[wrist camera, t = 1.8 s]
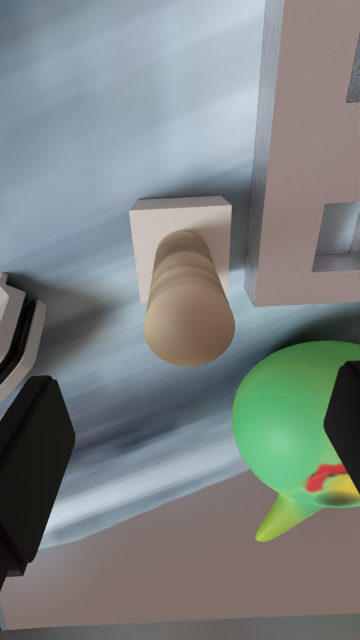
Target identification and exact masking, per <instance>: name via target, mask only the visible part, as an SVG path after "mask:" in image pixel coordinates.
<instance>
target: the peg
mask: <svg viewBox="0 0 360 640" xmlns="http://www.w3.org/2000/svg"><path fill="white" fill-rule="evenodd" d="M234 332H235V321H234V317H233V314H232V311H231V309H230V306H229V303H228V300H227V298H226V295H225V292H224V290H223V287H222V284H221V282H220V279H219V276H218V274H217V271H216V268H215V266H214V263H213V260H212V257H211V255H210V252H209V249H208V247H207V245H206V243H205V241H204V240H203V239H202V238H201V237H200V236H199V235H197V234H195V233H193V232H190V231H185V230H181V231H175V232H172V233H170V234H168V235H167V236H165V237H164V238H163V239H162V240H161V242H160V243H159V245H158V247H157V250H156V255H155V261H154V267H153V274H152V280H151V286H150V292H149V299H148V305H147V311H146V317H145V324H144V334H145V339H146V341H147V344H148V345H149V347H150V348H151V350H152V351H153V352H154V353H155V354H156V355H157V356H158V357H160V358H161V359H163V360H164V361H167V362H169V363H172V364H175V365H179V366H197V365H202V364H205V363H208V362H210V361H212V360H214V359H216V358H217V357H219V356H220V355H221V354H222V353H223V352H224V351H225V350H226V349H227V348H228V347H229V345H230V343H231V341H232V339H233V336H234Z"/></svg>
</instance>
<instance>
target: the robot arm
mask: <svg viewBox="0 0 360 640" xmlns="http://www.w3.org/2000/svg"><path fill="white" fill-rule="evenodd" d="M323 426H324V430H325V433H326V435H327V437H328V438H329V440H330V442H331V444H332V446H333V447H334V449H335V451H336V453H337V455H338V457H339V458H340V460H341V462H342V464H343V466H344V467H345V469H346V471H347V473H348V475H349V476H350V478H351V480H352V482H353V484H354V485H355V487H356V489H357V491H358V493H359V494H360V360H355V361H346V362H345V363H344V365H343V366H340V368H339V370H338V374H337V377H336V380H335V384H334V387H333V391H332V394H331V398H330V401H329V404H328V408H327V411H326V415H325V418H324V422H323ZM74 444H75V432H74V429H73V426H72V423H71V420H70V417H69V414H68V411H67V408H66V405H65V402H64V399H63V396H62V394H61V391H60V388H59V385H58V382H57V380H55V379H54V380H53V379H52V377H51V376H49V375H45V376H31V377H30V378H29V379H28V380H27V381H26V383H25V384H24V386H23V387H22V389H21V390H20V392H19V394H18V395H17V397H16V398H15V400H14V401H13V403H12V404H11V406H10V407H9V409H8V410H7V412H6V413H5V415H4V416H3V418H2V419H1V421H0V590H1V588H2V585H3V583H4V580H5V578H6V577H14V576H23V575H24V572H25V569H26V567H27V564H28V563H30V562H32V561H33V560H34V558H35V556H36V553H37V551H38V548H39V545H40V542H41V539H42V536H43V533H44V531H45V528H46V525H47V522H48V519H49V516H50V513H51V510H52V508H53V505H54V502H55V499H56V496H57V493H58V490H59V487H60V485H61V482H62V479H63V476H64V473H65V470H66V467H67V464H68V462H69V459H70V456H71V453H72V450H73V447H74ZM0 640H360V613H356V614H330V615H304V616H280V617H257V618H233V619H210V620H188V621H165V622H144V623H124V624H105V625H104V624H103V625H82V626H63V627H46V628H32V629H18V630H8V629H7V625H6V621H5V616H4V612H3V608H2V604H1V599H0Z"/></svg>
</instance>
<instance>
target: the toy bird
mask: <svg viewBox="0 0 360 640" xmlns="http://www.w3.org/2000/svg"><path fill="white" fill-rule="evenodd" d="M355 360H360V345H359V344H354V343H349V342H341V341H313V342H306V343H301V344H297V345H293V346H290V347H287V348H284V349H281V350H279V351H277V352H275V353H273V354H271V355H269V356H267V357H266V358H264V359H263V360H261V361H260V362H259V363H257V364H256V365H255V366H254V367H253V368H252V369H251V370H250V371H249V372H248V374H247V375H246V376H245V378H244V379H243V381H242V382H241V384H240V386H239V388H238V390H237V393H236V396H235V399H234V404H233V411H232V425H233V432H234V437H235V440H236V444H237V446H238V449H239V451H240V453H241V455H242V457H243V459H244V460H245V462H246V463H247V465H248V466H249V468H250V469H251V470H252V471H253V473H254V474H255V475H256V476H257V477H258V478H259V479H260V480H262V481H263V482H264V483H265V484H266V485H268V486H269V487H270V488H272V489H274V490H275V491H277V492H279V496H278V498H277V500H276V501H275V503H274V505H273V506H272V508H271V509H270V511H269V513H268V514H267V515H266V517H265V519H264V520H263V522H262V523H261V525H260V527H259V529H258V531H257V533H256V540H258V541H260V542H265V541H269V540H271V539H273V538H275V537H277V536H279V535H281V534H282V533H284V532H286V531H288V530H289V529H291V528H292V527H294V526H295V525H297V524H298V523H300V522H301V521H303V520H305V519H306V518H308V517H309V516H311V515H313V514H314V513H316V512H317V511H319V510H321V509H323V508H325V507H333V508H348V507H359V506H360V494H359V493H358V491H357V489H356V487H355V485H354V484H353V482H352V480H351V478H350V476H349V475H348V473H347V471H346V469H345V467H344V466H343V464H342V462H341V460H340V458H339V457H338V455H337V453H336V451H335V449H334V447H333V446H332V444H331V442H330V440H329V438H328V437H327V435H326V433H325V430H324V426H323V422H324V418H325V415H326V411H327V408H328V404H329V401H330V398H331V394H332V391H333V387H334V384H335V380H336V377H337V374H338V370H339V368H340V366H343V365H344V363H345V362H346V361H355Z"/></svg>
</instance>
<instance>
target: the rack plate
mask: <svg viewBox="0 0 360 640" xmlns="http://www.w3.org/2000/svg"><path fill="white" fill-rule="evenodd" d="M359 34H360V0H266V3H265V16H264V29H263V42H262V55H261V69H260V82H259V95H258V108H257V122H256V135H255V148H254V161H253V174H252V188H251V201H250V214H249V227H248V240H247V254H246V267H245V280H244V289H245V291H246V293H247V295H248V296H249V298H250V300H251V302H252V304H253V306H254V307H261V306H281V305H300V304H320V303H339V302H359V301H360V215H359V219H358V223H357V226H356V230H355V234H354V238H353V241H352V245H351V249H350V253H349V254H337V255H317V256H315V252H316V247H317V242H318V237H319V233H320V228H321V223H322V218H323V213H324V208H325V204H333V203H353V202H360V102H353V103H346V99H347V94H348V89H349V84H350V79H351V74H352V69H353V64H354V59H355V54H356V49H357V44H358V39H359Z"/></svg>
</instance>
